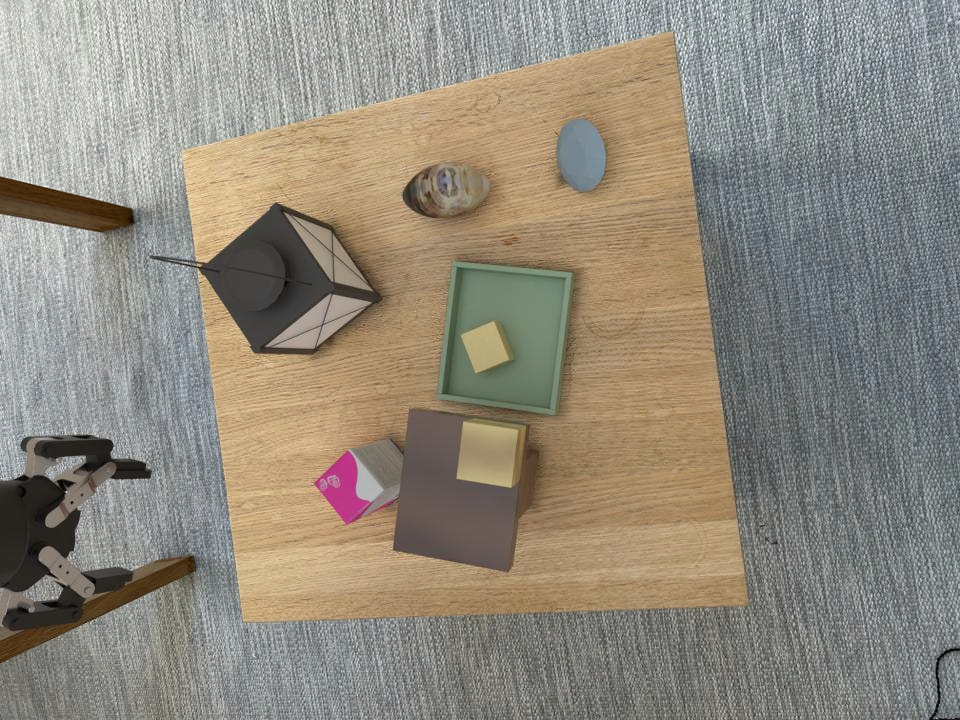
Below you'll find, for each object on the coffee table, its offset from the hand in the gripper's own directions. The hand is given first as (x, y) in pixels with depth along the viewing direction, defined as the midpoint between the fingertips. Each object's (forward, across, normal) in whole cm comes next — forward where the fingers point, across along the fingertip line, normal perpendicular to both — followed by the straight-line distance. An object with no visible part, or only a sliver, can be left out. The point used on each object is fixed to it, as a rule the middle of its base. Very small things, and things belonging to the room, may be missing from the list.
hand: (136, 522), depth 64 cm
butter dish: (+31, +22, -17) cm, 42 cm away
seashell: (+28, +37, -9) cm, 47 cm away
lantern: (+26, +25, +6) cm, 36 cm away
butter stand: (+33, +9, -19) cm, 39 cm away
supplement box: (+30, +5, -5) cm, 31 cm away
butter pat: (+27, +20, -16) cm, 37 cm away
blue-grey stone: (+31, +42, -23) cm, 57 cm away
